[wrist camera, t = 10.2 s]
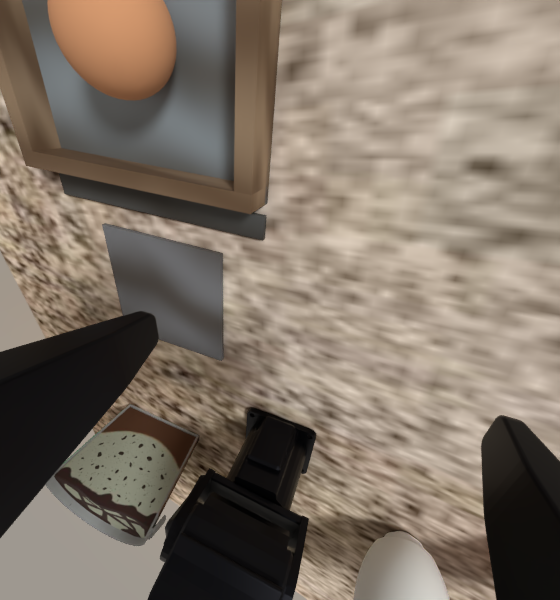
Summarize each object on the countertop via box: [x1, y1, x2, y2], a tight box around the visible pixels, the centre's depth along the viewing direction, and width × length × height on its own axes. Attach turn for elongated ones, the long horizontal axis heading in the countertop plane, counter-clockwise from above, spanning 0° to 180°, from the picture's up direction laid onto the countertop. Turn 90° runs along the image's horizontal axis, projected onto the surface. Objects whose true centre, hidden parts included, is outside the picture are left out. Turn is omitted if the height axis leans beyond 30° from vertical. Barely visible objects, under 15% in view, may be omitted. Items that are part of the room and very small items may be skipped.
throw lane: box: [0, 0, 282, 361], centre depth 19 cm, size 28×16×2 cm, turn 174°
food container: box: [45, 404, 199, 546], centre depth 34 cm, size 12×6×10 cm, turn 80°
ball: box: [47, 0, 177, 101], centre depth 14 cm, size 5×5×5 cm
